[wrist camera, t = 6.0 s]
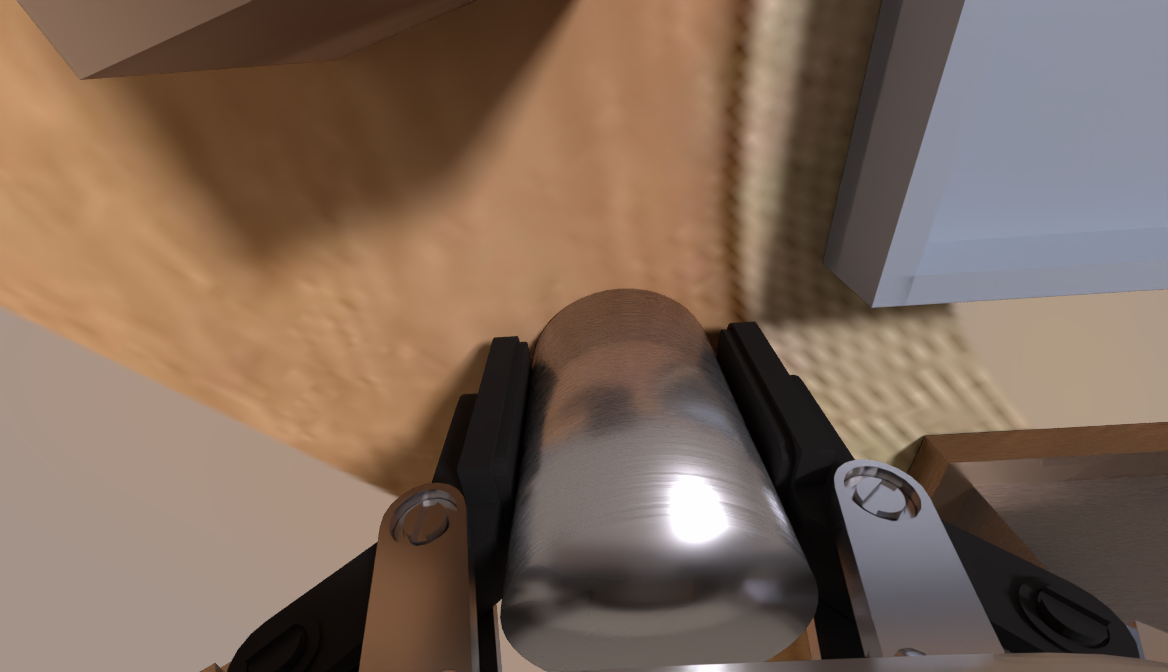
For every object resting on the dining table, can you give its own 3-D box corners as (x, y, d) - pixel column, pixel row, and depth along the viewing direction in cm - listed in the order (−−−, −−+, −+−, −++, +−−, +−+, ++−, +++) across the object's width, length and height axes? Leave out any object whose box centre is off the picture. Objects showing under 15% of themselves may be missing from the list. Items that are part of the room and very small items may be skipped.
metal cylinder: (718, 282, 10) (854, 511, 5) (703, 427, 13) (788, 682, 8) (521, 295, 10) (472, 532, 5) (543, 437, 13) (522, 695, 8)
